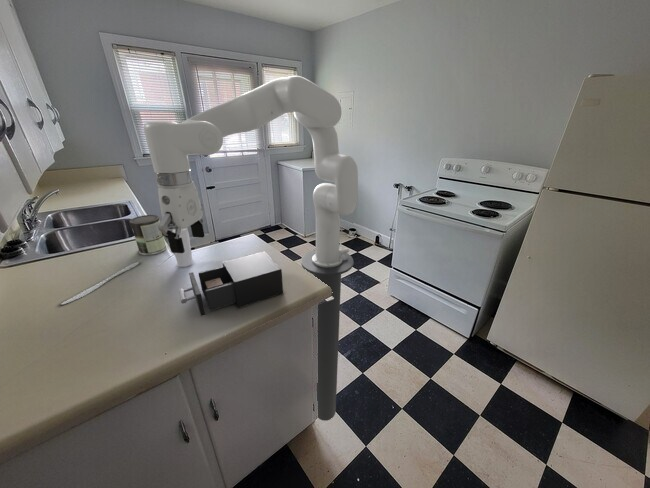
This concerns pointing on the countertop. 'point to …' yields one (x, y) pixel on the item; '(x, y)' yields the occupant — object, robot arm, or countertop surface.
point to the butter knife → (99, 284)
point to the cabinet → (254, 278)
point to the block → (213, 283)
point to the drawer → (211, 290)
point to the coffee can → (148, 234)
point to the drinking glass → (185, 257)
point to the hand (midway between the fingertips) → (189, 244)
